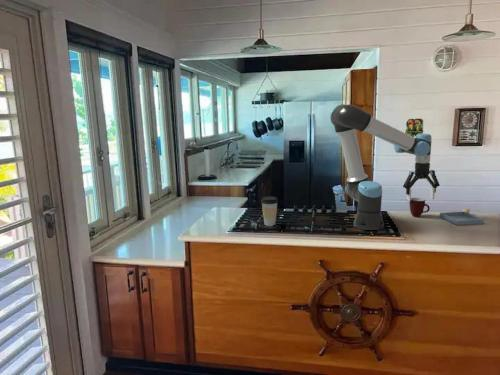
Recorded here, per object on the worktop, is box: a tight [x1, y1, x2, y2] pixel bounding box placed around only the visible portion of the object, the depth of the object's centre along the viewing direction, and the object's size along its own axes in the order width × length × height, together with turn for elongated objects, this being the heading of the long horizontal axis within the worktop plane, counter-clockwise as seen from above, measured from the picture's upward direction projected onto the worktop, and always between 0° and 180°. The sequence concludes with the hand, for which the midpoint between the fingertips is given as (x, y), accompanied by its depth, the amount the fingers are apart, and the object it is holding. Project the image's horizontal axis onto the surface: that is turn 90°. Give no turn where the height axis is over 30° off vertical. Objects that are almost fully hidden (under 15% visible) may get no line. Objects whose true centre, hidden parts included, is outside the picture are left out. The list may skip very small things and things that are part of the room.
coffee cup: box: [260, 196, 279, 227], centre depth 204 cm, size 9×9×15 cm
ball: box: [462, 208, 471, 214], centre depth 215 cm, size 4×4×4 cm
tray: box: [439, 210, 485, 226], centre depth 205 cm, size 15×16×2 cm
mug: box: [408, 197, 431, 218], centre depth 213 cm, size 10×8×10 cm
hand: (420, 199), depth 212 cm, fingers open, 13 cm apart
